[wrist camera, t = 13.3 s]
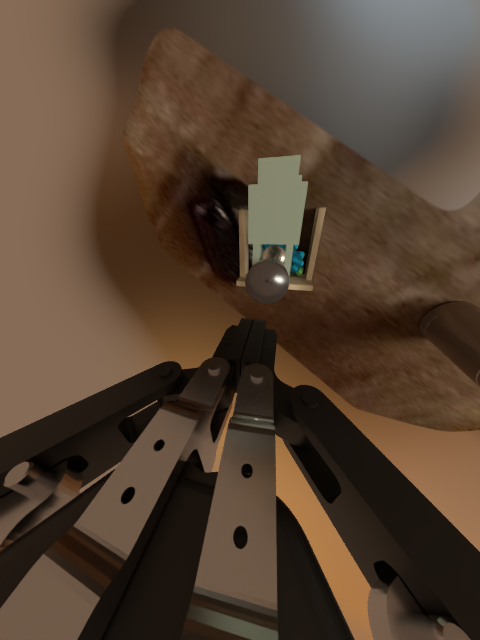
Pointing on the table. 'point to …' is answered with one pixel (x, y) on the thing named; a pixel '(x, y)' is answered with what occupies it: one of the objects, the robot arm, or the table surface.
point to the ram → (268, 276)
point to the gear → (296, 258)
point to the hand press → (276, 206)
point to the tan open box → (294, 280)
